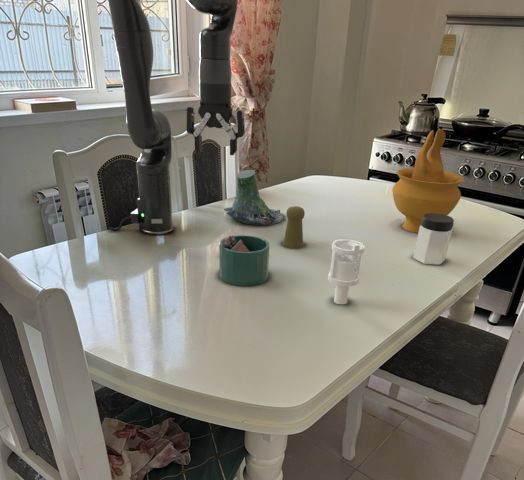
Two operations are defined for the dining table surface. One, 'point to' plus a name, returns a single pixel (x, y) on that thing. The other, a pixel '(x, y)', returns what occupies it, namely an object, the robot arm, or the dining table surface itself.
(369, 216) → the dining table surface
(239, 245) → the lighter
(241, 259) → the ceramic cup
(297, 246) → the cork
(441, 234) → the jar
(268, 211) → the tree stump
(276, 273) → the dining table surface
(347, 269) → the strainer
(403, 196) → the decorative bowl
